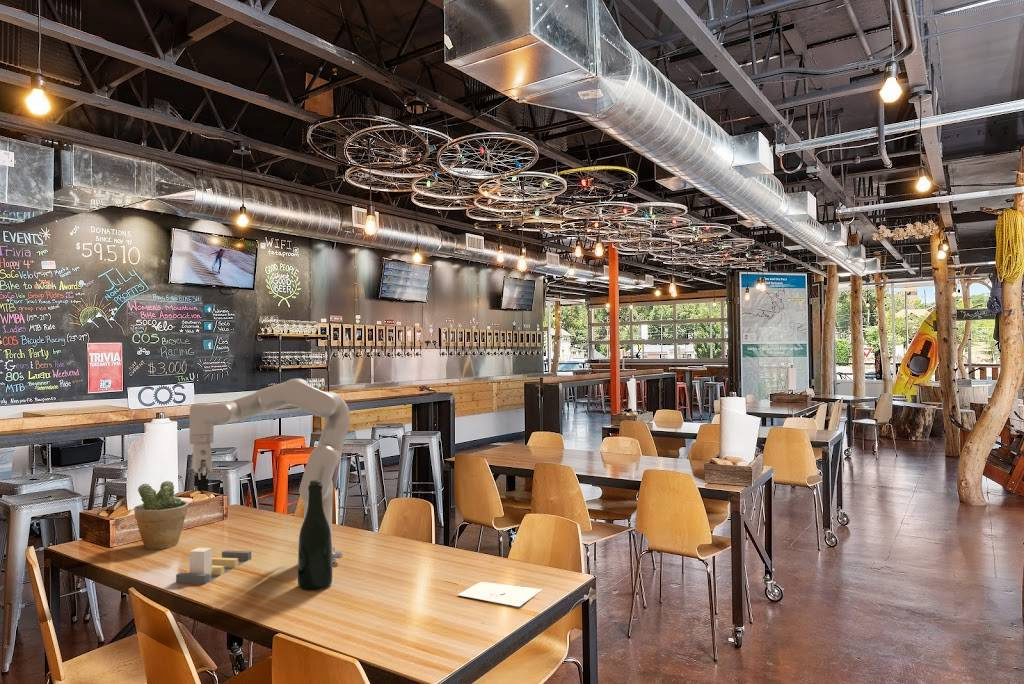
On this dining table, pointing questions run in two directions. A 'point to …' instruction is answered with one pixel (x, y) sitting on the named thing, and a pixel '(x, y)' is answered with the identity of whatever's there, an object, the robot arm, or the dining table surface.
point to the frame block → (201, 561)
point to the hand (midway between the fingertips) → (201, 488)
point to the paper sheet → (500, 593)
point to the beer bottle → (315, 544)
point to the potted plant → (160, 516)
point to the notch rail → (206, 576)
